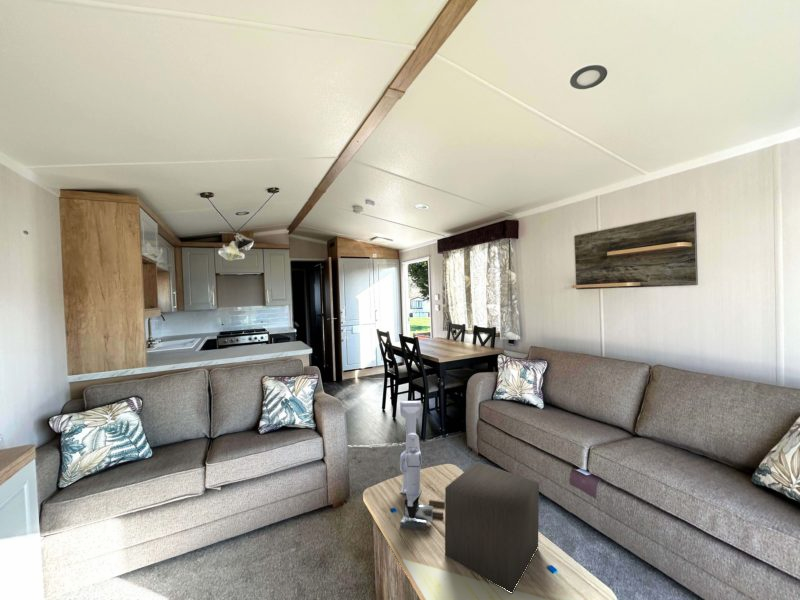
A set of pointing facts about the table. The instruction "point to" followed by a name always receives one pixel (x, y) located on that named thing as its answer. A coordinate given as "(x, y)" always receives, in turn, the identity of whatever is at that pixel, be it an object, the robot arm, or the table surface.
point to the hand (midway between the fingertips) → (413, 512)
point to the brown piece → (436, 503)
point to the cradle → (413, 523)
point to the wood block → (492, 523)
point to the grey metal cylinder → (422, 512)
